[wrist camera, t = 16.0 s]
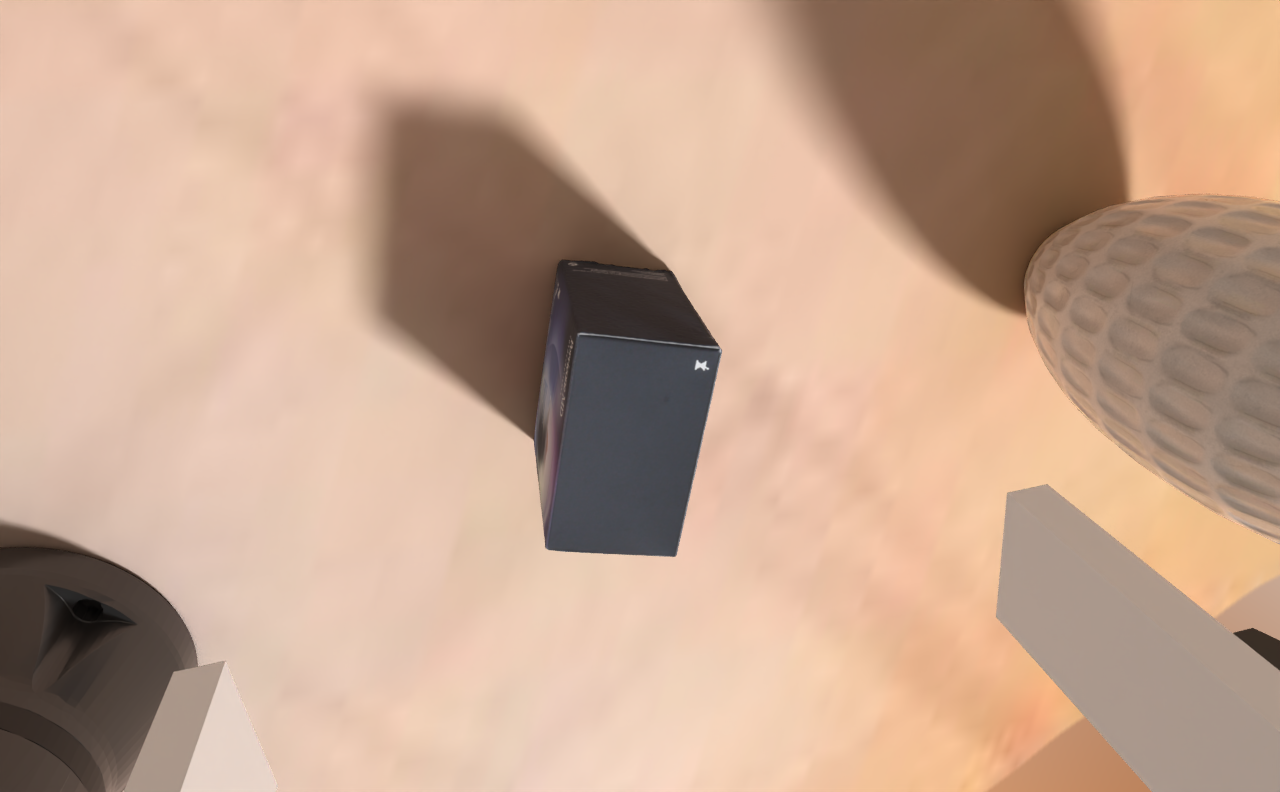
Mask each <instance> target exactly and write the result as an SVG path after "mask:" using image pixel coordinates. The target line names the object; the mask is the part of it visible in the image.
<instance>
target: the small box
mask: <svg viewBox="0 0 1280 792" xmlns="http://www.w3.org/2000/svg"><path fill="white" fill-rule="evenodd" d="M721 354H722V350H721V349H720V347H719V345H718V343H717V342H716V341H715V339H714V338H713V337H712V335H711V333H710V332H709V330H708V329H707V327H706V326H705V324H704V323H703V321H702V319H701V317H700V316H699V315H698V313H697V312H696V310H695V309H694V307H693V306H692V304H691V302H690V301H689V299H688V298H687V296H686V295H685V293H684V292H683V290H682V288H681V286H680V284H679V282H678V281H677V278H676V277H675V275H674V274H673V272H672V271H669V272H668V271H666V270H656V271H653V270H649V269H638V268H629V267H620V266H614V265H604V264H598V263H596V262H590V261H569V260H561V261H559V264H558V268H557V273H556V280H555V287H554V293H553V300H552V307H551V314H550V321H549V328H548V335H547V342H546V349H545V356H544V363H543V370H542V378H541V385H540V393H539V400H538V408H537V415H536V424H535V434H534V447H535V455H536V463H537V474H538V481H539V491H540V501H541V509H542V518H543V527H544V537H545V547H546V549H548V550H555V551H565V552H581V553H603V554H625V555H646V556H670V557H675V556H676V555H677V551H678V546H679V542H680V538H681V533H682V529H683V524H684V520H685V516H686V511H687V506H688V502H689V498H690V493H691V489H692V484H693V480H694V476H695V471H696V467H697V462H698V458H699V453H700V448H701V444H702V440H703V434H704V430H705V426H706V422H707V417H708V412H709V408H710V404H711V400H712V395H713V390H714V386H715V381H716V376H717V372H718V367H719V363H720V358H721Z"/></svg>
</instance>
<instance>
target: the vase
mask: <svg viewBox="0 0 1280 792" xmlns="http://www.w3.org/2000/svg"><path fill="white" fill-rule="evenodd" d="M1024 296H1025V308H1026V315H1027V321H1028V326H1029V329H1030V333H1031V336H1032V338H1033V340H1034V342H1035V345H1036V347H1037V349H1038V351H1039V353H1040V356H1041V358H1042V360H1043V362H1044V364H1045V366H1046V367H1047V369H1048V370H1049V372H1050V373H1051V375H1052V376H1053V378H1054V379H1055V381H1056V382H1057V384H1058V385H1059V387H1060V388H1061V390H1062V391H1063V392H1064V394H1065V395H1066V396H1067V397H1068V399H1069V400H1070V401H1071V403H1072V404H1073V405H1074V406H1075V407H1076V408H1077V409H1078V410H1079V411H1080V412H1081V413H1082V414H1083V415H1084V416H1085V417H1086V418H1087V419H1088V420H1089V421H1090V422H1091V423H1092V424H1093V425H1094V426H1095V428H1096V429H1098V430H1099V431H1100V432H1101V433H1103V434H1104V435H1105V436H1106V437H1107V438H1109V439H1110V440H1111V441H1112V442H1113V443H1115V444H1116V445H1117V446H1118V447H1119V448H1121V449H1122V450H1123V451H1124V452H1125V453H1127V454H1128V455H1129V456H1130V457H1132V458H1133V459H1134V460H1135V461H1136V462H1138V463H1139V464H1140V465H1142V466H1143V467H1145V468H1146V469H1148V470H1149V471H1151V472H1152V473H1153V474H1155V475H1156V476H1158V477H1159V478H1161V479H1162V480H1163V481H1165V482H1166V483H1168V484H1169V485H1171V486H1172V487H1174V488H1175V489H1177V490H1178V491H1180V492H1182V493H1183V494H1185V495H1186V496H1188V497H1190V498H1191V499H1193V500H1195V501H1196V502H1198V503H1199V504H1201V505H1203V506H1204V507H1206V508H1208V509H1209V510H1211V511H1212V512H1214V513H1216V514H1217V515H1220V516H1222V517H1224V518H1226V519H1228V520H1230V521H1232V522H1234V523H1236V524H1238V525H1240V526H1242V527H1244V528H1246V529H1248V530H1251V531H1253V532H1255V533H1257V534H1259V535H1261V536H1263V537H1265V538H1267V539H1269V540H1272V541H1274V542H1276V543H1278V544H1280V201H1274V200H1268V199H1263V198H1257V197H1247V196H1233V195H1219V194H1187V195H1173V196H1160V197H1151V198H1145V199H1140V200H1135V201H1130V202H1126V203H1121V204H1116V205H1112V206H1108V207H1106V208H1103V209H1100V210H1097V211H1095V212H1093V213H1090V214H1088V215H1086V216H1084V217H1081V218H1079V219H1078V220H1076V221H1074V222H1072V223H1070V224H1068V225H1066V226H1064V227H1062V228H1060V229H1059V230H1057V231H1056V232H1054V233H1053V234H1052V235H1050V236H1049V237H1048V238H1047V239H1046V240H1045V241H1044V242H1043V243H1042V244H1041V245H1040V247H1039V248H1038V249H1037V251H1036V252H1035V254H1034V255H1033V257H1032V259H1031V261H1030V263H1029V265H1028V268H1027V271H1026V275H1025V279H1024Z"/></svg>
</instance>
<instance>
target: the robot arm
mask: <svg viewBox="0 0 1280 792" xmlns="http://www.w3.org/2000/svg"><path fill="white" fill-rule="evenodd" d="M996 617H997V619H998V620H999V621H1000V622H1001V623H1002V624H1003V625H1004V626H1005V628H1006V629H1007V630H1008V631H1009V632H1010V633H1011V634H1012V635H1013V636H1014V638H1015V639H1016V640H1017V641H1018V642H1019V643H1020V644H1021V645H1022V647H1023V648H1024V649H1025V650H1026V651H1027V652H1028V653H1029V654H1030V656H1031V657H1032V658H1033V659H1034V660H1035V661H1036V662H1037V663H1038V665H1039V666H1040V667H1041V668H1042V669H1043V670H1044V671H1045V672H1046V673H1047V675H1048V676H1049V677H1050V678H1051V679H1052V680H1053V681H1054V682H1055V684H1056V685H1057V686H1058V687H1059V688H1060V689H1061V690H1062V691H1063V693H1064V694H1065V695H1066V696H1067V697H1068V698H1069V699H1070V700H1071V702H1072V703H1073V704H1074V705H1075V706H1076V707H1077V708H1078V709H1079V710H1080V712H1081V713H1082V714H1083V715H1084V716H1085V717H1086V718H1087V719H1088V720H1089V721H1090V723H1091V724H1092V725H1093V726H1094V727H1095V728H1096V730H1097V731H1098V732H1099V733H1100V734H1101V735H1102V736H1103V737H1104V739H1105V740H1107V742H1108V743H1109V744H1110V745H1111V746H1112V748H1113V749H1114V750H1115V751H1116V752H1117V753H1118V754H1119V755H1120V756H1121V758H1122V759H1123V760H1124V761H1125V762H1126V763H1127V764H1128V765H1129V766H1130V768H1131V769H1132V770H1133V771H1134V772H1135V773H1136V774H1137V775H1138V777H1139V778H1140V779H1141V780H1142V781H1143V782H1144V783H1145V785H1146V786H1147V787H1148V788H1149V789H1150V790H1151V791H1152V792H1280V641H1279V640H1277V639H1275V638H1273V637H1271V636H1269V635H1267V634H1265V633H1263V632H1260V631H1258V630H1256V629H1254V628H1251V629H1247V630H1243V631H1239V632H1235V633H1232V632H1231V631H1229V630H1228V629H1227V628H1226V627H1224V626H1223V625H1222V624H1220V623H1219V622H1218V621H1217V620H1216V619H1214V618H1213V617H1212V616H1211V615H1209V614H1208V613H1207V612H1206V611H1204V610H1203V609H1202V608H1201V607H1200V606H1198V605H1197V604H1196V603H1195V602H1193V601H1192V600H1191V599H1190V598H1188V597H1187V596H1186V595H1185V594H1183V593H1182V592H1181V591H1180V590H1178V589H1177V588H1176V587H1175V586H1173V585H1172V584H1171V583H1170V582H1168V581H1167V580H1166V579H1165V578H1163V577H1162V576H1161V575H1160V574H1158V573H1157V572H1156V571H1155V570H1153V569H1152V568H1151V567H1150V566H1148V565H1147V564H1146V563H1145V562H1143V561H1142V560H1141V559H1140V558H1138V557H1137V556H1136V555H1135V554H1133V553H1132V552H1131V551H1130V550H1128V549H1127V548H1126V547H1125V546H1123V545H1122V544H1121V543H1120V542H1119V541H1117V540H1116V539H1115V538H1114V537H1112V536H1111V535H1110V534H1109V533H1107V532H1106V531H1105V530H1104V529H1102V528H1101V527H1100V526H1099V525H1097V524H1096V523H1095V522H1094V521H1092V520H1091V519H1090V518H1089V517H1087V516H1086V515H1085V514H1084V513H1082V512H1081V511H1080V510H1079V509H1077V508H1076V507H1075V506H1074V505H1072V504H1071V503H1070V502H1069V501H1067V500H1066V499H1065V498H1064V497H1062V496H1061V495H1060V494H1059V493H1057V492H1056V491H1055V490H1054V489H1052V488H1051V487H1050V486H1049V485H1047V484H1046V485H1042V486H1037V487H1032V488H1028V489H1023V490H1018V491H1014V492H1009V493H1007V500H1006V511H1005V522H1004V533H1003V544H1002V555H1001V567H1000V578H999V589H998V600H997V611H996ZM277 787H278V785H277V782H276V780H275V778H274V775H273V773H272V770H271V768H270V766H269V763H268V761H267V758H266V756H265V754H264V751H263V749H262V747H261V744H260V742H259V739H258V737H257V735H256V732H255V730H254V727H253V725H252V723H251V720H250V718H249V715H248V713H247V711H246V708H245V706H244V704H243V701H242V699H241V696H240V694H239V692H238V689H237V687H236V684H235V682H234V680H233V677H232V675H231V672H230V670H229V668H228V665H227V663H226V661H222V662H218V663H213V664H208V665H204V666H199V667H198V663H197V654H196V650H195V646H194V643H193V640H192V637H191V635H190V633H189V631H188V629H187V627H186V625H185V624H184V622H183V620H182V619H181V617H180V616H179V615H178V613H177V612H176V611H175V610H174V608H173V607H172V606H171V605H170V604H169V603H168V602H167V601H166V600H165V599H164V598H163V597H162V596H161V595H160V594H159V593H157V592H156V591H155V590H154V589H152V588H151V587H150V586H148V585H147V584H145V583H144V582H143V581H141V580H139V579H138V578H136V577H134V576H133V575H131V574H129V573H127V572H125V571H123V570H122V569H119V568H117V567H115V566H113V565H110V564H108V563H105V562H103V561H100V560H97V559H94V558H91V557H88V556H84V555H80V554H76V553H71V552H67V551H61V550H54V549H45V548H28V547H23V548H2V549H0V792H123V790H124V792H277Z"/></svg>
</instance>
